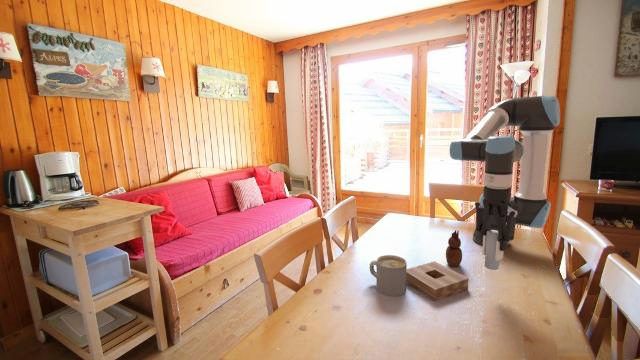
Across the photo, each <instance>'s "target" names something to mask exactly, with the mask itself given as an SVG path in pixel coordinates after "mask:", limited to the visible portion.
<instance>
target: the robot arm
mask: <svg viewBox="0 0 640 360" xmlns="http://www.w3.org/2000/svg"><path fill="white" fill-rule="evenodd" d="M560 123H561V106H560V102H559V99H558V98H557V96H554V95H539V96H528V97H527V96H526V97H525V96H524V97H511V98H508V99H505V100H502V101H500V102H498V103H496V104H494V105H493V106H491V107H490V108H488V109H487V110H486V111H485V113H484V115H483V118H482V119H481V120H480V121H479V122H478V123H477V125H475V126H474V128H473V129H472V130H471V131H470V132H469V133H468V134H467V135H466V136H465V137H464V138H459V139H457V138H456V139H453V140H451V143H450V145H449V156H450V158H451V160H456V161H462V162H464V161H466V162H467V161H469V162H481V163H482V162H483V163H484V177H483V178H484V179H483V185H484V186H483V192H482V194H481V195H480V196H479V201H476V202H475V203H474V205H475V209H476V210H475V212H476V215H475V229H474V231H473V233H472V241H473V242H474V243H475V244H476V243H477V244H478V245H481V246H482V249H481V252H482V253H481V254H482V255H483V256H485V253H486V238H487V231H488V230H497V231H498V234H499V240H497V241H496V255H495V260H497V261H498V260H499V261H501V260H504V252H505V251H506V249H507V247H508V246H510V243H511V242H512V241H513V240H514V239H515V232H516V231H515V230H516V225H517V226H522V227H527V228H528V227H529V228H535V229H542V228H543V227H544V226H546V223H547V220H548V219H549V215H550V211H551V206H552V203H551V202H550V201H548V200H547V199H548V196H547V195H545V193H544V188H545V187H544V186H545V185H544V184H545V174H546V168H547V167H546V166H547V165H546V164H547V153H548V147H549V145H548V144H549V138H550V134H552V133H553V132H554V131H555V127H558V126H559V125H561V124H560ZM506 127H519V132H520V133H521V134H522V135H523V136H522V142H521V141H519V140H517V139H515V137H514V136H511V135H496V134H497V133H498V132H499V131H500V130H502V129H504V128H506ZM518 161H520V169H519V180H518V181H519V182H518V191H516V192H515V193H514V194H513V196H512V188H511V187H512V186H513V170H514V163H516V162H518Z"/></svg>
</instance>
